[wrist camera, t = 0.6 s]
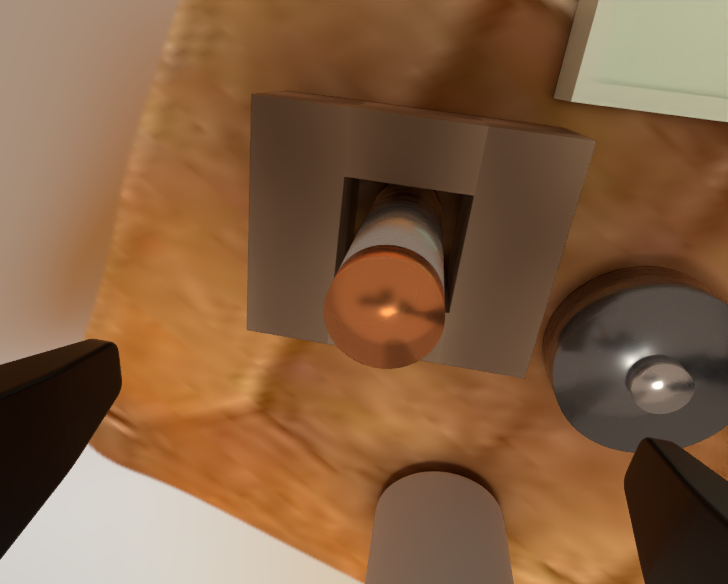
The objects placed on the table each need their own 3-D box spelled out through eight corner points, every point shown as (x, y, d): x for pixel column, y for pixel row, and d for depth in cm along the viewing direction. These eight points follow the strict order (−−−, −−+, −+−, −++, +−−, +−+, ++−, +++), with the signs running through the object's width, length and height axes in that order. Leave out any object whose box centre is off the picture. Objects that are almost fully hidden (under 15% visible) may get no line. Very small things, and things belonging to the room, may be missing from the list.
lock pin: (448, 185, 19) (455, 269, 11) (435, 254, 20) (433, 377, 12) (375, 175, 19) (328, 249, 11) (367, 243, 20) (318, 357, 12)
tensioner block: (563, 127, 17) (596, 141, 14) (509, 325, 21) (524, 378, 17) (288, 90, 18) (251, 94, 14) (279, 287, 21) (246, 329, 18)
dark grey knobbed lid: (757, 282, 19) (816, 320, 16) (685, 428, 21) (724, 483, 19) (569, 253, 19) (593, 284, 16) (524, 399, 22) (537, 448, 19)
